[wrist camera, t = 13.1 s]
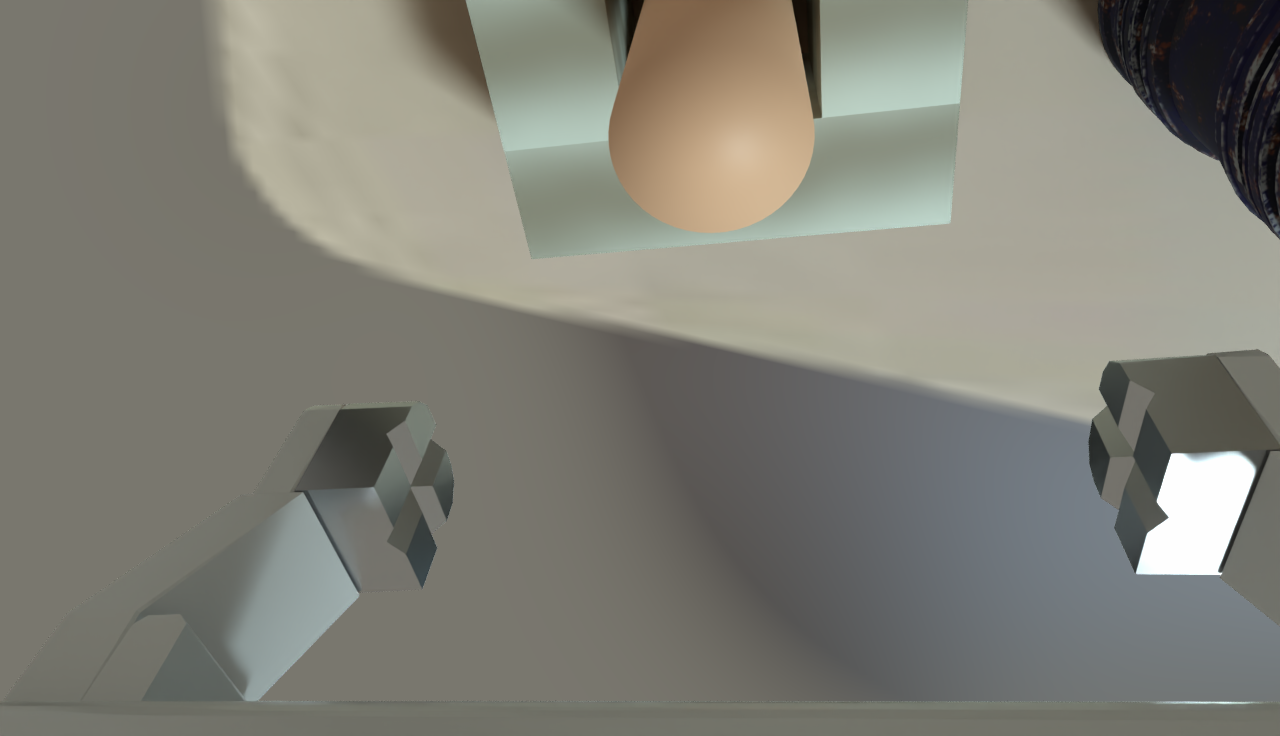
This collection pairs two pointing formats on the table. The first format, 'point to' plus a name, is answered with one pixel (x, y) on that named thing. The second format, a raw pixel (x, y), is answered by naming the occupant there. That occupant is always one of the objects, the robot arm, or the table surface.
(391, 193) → the table surface
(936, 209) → the socket board
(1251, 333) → the table surface
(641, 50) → the peg
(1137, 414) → the robot arm
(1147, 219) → the table surface
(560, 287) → the table surface
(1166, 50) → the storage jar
